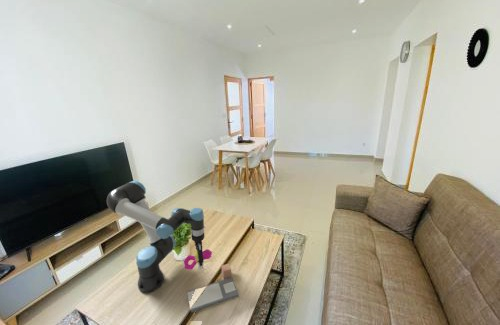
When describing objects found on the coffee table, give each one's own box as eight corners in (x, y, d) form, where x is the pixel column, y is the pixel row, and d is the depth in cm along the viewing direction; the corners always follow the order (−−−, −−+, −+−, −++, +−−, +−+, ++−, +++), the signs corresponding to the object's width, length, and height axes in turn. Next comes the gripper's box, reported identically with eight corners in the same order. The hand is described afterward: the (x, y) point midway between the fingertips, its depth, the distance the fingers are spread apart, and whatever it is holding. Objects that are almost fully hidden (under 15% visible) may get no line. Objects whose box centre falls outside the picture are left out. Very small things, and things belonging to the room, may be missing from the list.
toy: (185, 260, 138) (180, 254, 131) (211, 247, 142) (207, 241, 135) (188, 275, 132) (183, 270, 124) (215, 262, 136) (212, 256, 128)
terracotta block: (223, 279, 138) (223, 271, 136) (221, 273, 142) (221, 265, 140) (231, 277, 140) (230, 269, 137) (228, 271, 144) (228, 263, 142)
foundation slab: (190, 313, 117) (189, 311, 117) (187, 293, 128) (187, 291, 128) (238, 296, 127) (238, 294, 127) (232, 278, 139) (232, 277, 138)
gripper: (208, 244, 118) (209, 274, 125) (200, 220, 139) (201, 247, 146) (194, 247, 115) (196, 277, 123) (189, 222, 136) (190, 249, 143)
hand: (199, 261), depth 134 cm, fingers closed on toy, 11 cm apart
